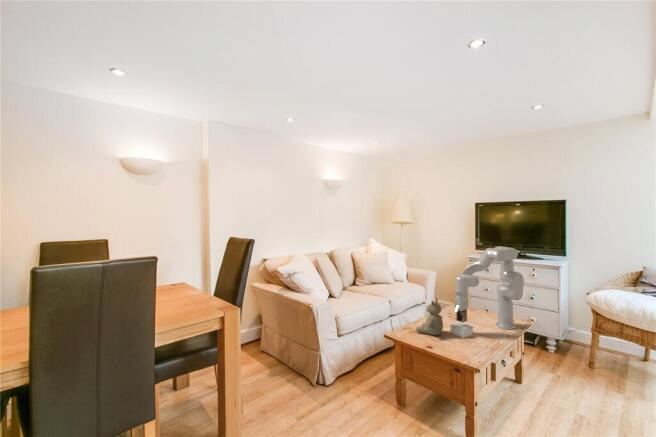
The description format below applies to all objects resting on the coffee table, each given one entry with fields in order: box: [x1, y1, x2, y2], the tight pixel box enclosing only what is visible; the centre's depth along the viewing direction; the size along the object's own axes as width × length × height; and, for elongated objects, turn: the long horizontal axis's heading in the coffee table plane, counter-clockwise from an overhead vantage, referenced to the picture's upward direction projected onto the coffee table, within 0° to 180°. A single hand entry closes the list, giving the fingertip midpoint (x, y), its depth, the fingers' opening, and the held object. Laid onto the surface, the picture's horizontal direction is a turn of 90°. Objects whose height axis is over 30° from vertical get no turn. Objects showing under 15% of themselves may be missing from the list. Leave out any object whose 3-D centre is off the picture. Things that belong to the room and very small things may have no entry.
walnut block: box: [455, 310, 468, 323], centre depth 211 cm, size 5×5×7 cm
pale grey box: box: [449, 321, 474, 339], centre depth 211 cm, size 11×11×6 cm
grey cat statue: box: [415, 297, 444, 336], centre depth 214 cm, size 21×16×25 cm
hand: (461, 319), depth 211 cm, fingers closed on walnut block, 5 cm apart
